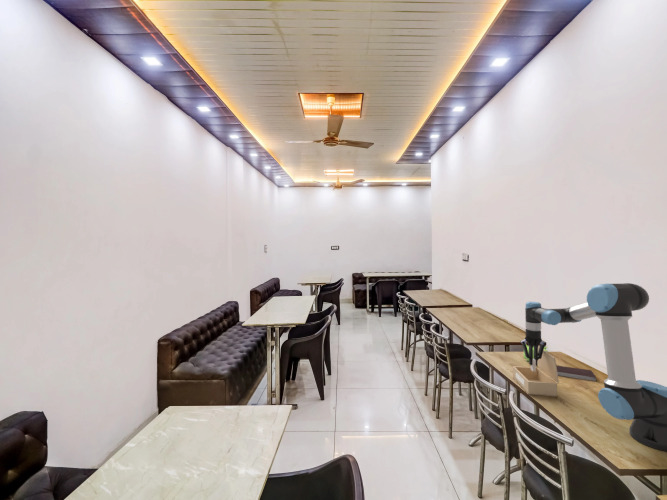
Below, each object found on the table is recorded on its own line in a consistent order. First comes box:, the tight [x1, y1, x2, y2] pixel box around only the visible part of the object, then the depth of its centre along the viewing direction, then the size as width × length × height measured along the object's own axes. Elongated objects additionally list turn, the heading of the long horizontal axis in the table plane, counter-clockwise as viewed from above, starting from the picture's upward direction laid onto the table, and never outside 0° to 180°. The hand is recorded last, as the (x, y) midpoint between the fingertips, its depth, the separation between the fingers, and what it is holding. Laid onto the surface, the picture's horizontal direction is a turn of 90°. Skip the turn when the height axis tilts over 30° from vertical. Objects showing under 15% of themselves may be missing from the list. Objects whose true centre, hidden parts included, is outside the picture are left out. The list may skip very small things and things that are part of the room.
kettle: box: [523, 343, 549, 362], centre depth 218 cm, size 15×14×11 cm
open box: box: [512, 365, 558, 397], centre depth 181 cm, size 22×14×7 cm, turn 170°
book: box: [556, 364, 597, 382], centre depth 197 cm, size 12×19×3 cm, turn 63°
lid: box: [536, 345, 560, 384], centre depth 180 cm, size 23×13×1 cm
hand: (533, 370), depth 181 cm, fingers closed
